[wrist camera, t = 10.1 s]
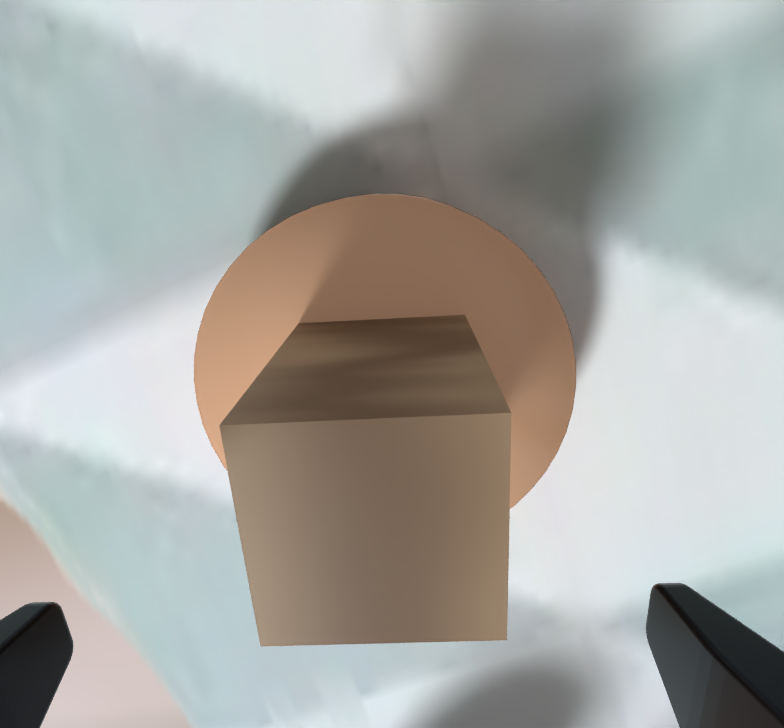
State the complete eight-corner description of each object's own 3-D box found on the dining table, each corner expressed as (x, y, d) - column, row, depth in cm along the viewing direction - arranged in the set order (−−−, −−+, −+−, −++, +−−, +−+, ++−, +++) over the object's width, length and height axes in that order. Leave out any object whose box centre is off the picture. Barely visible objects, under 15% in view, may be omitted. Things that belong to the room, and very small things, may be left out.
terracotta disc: (558, 182, 17) (590, 181, 14) (543, 496, 21) (565, 545, 18) (198, 203, 17) (158, 207, 14) (251, 506, 21) (227, 555, 18)
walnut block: (464, 314, 15) (511, 412, 9) (466, 461, 17) (506, 640, 10) (298, 322, 15) (219, 424, 9) (316, 467, 17) (260, 646, 10)
